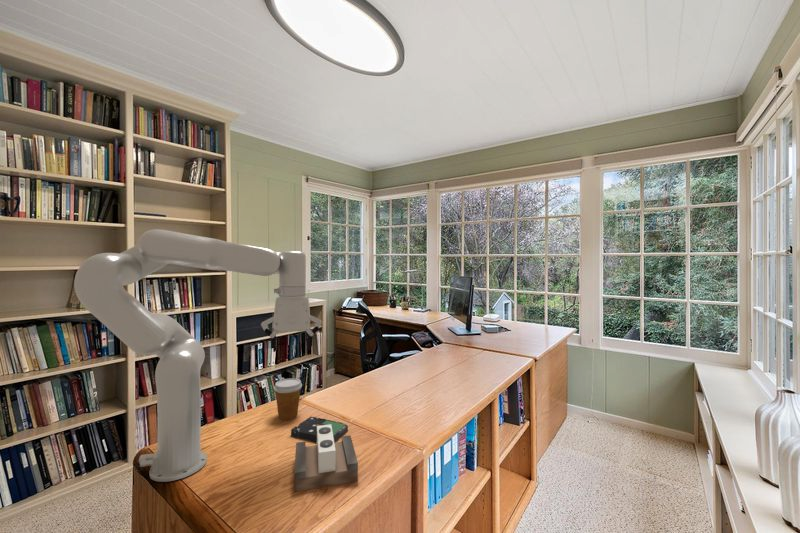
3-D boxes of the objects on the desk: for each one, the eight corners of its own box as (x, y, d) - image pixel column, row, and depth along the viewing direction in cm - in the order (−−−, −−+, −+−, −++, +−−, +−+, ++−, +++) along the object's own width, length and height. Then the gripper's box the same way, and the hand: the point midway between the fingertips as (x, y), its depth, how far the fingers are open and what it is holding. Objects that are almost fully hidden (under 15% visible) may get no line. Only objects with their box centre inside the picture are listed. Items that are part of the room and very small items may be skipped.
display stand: (294, 491, 78) (294, 472, 78) (296, 458, 92) (296, 442, 92) (357, 481, 82) (357, 462, 82) (350, 450, 96) (350, 435, 96)
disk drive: (290, 438, 104) (330, 447, 98) (290, 429, 104) (330, 438, 98) (310, 424, 113) (348, 431, 108) (310, 415, 113) (348, 422, 108)
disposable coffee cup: (277, 411, 122) (277, 378, 122) (304, 410, 123) (304, 377, 123) (270, 423, 112) (270, 387, 112) (299, 422, 113) (299, 386, 113)
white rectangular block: (318, 473, 80) (318, 451, 80) (316, 443, 94) (316, 425, 94) (335, 470, 82) (335, 449, 82) (331, 441, 95) (331, 423, 95)
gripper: (259, 293, 93) (259, 354, 93) (322, 292, 98) (322, 351, 98) (262, 291, 100) (262, 348, 100) (321, 291, 105) (321, 345, 105)
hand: (292, 349), depth 99 cm, fingers open, 9 cm apart
